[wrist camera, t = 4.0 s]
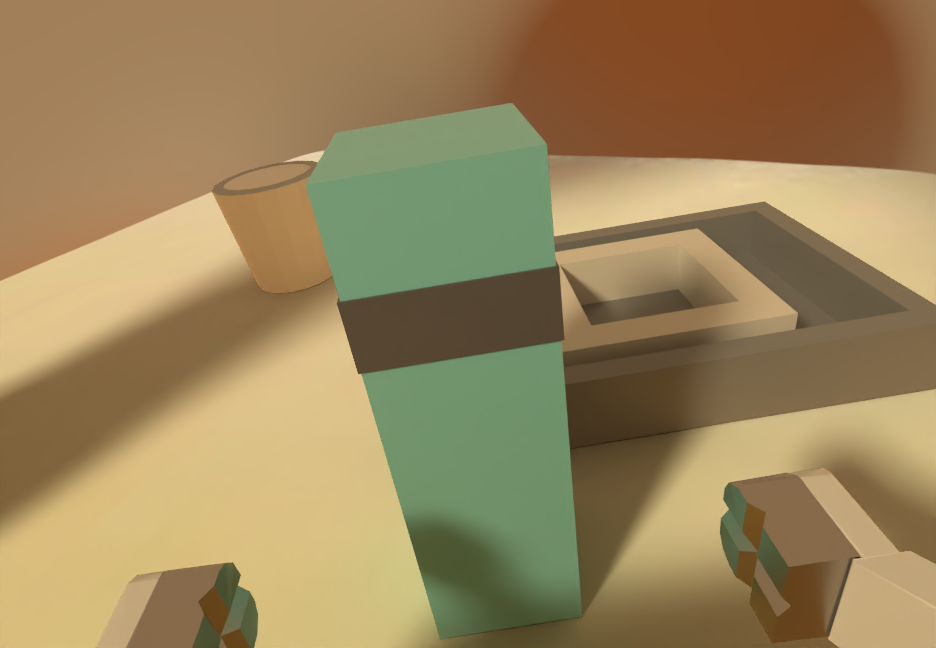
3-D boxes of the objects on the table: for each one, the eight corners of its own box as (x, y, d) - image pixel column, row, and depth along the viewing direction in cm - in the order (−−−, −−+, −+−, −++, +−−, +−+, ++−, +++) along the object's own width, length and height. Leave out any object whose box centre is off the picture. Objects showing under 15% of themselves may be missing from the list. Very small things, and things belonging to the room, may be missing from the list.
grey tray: (460, 466, 22) (447, 403, 20) (446, 303, 33) (437, 256, 31) (936, 388, 21) (959, 319, 20) (758, 252, 33) (764, 201, 31)
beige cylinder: (287, 252, 44) (257, 161, 40) (365, 253, 41) (340, 156, 38) (228, 296, 38) (186, 195, 35) (313, 300, 36) (278, 191, 32)
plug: (438, 640, 16) (301, 186, 9) (434, 522, 19) (333, 132, 13) (584, 617, 16) (550, 144, 9) (554, 503, 19) (513, 102, 13)
